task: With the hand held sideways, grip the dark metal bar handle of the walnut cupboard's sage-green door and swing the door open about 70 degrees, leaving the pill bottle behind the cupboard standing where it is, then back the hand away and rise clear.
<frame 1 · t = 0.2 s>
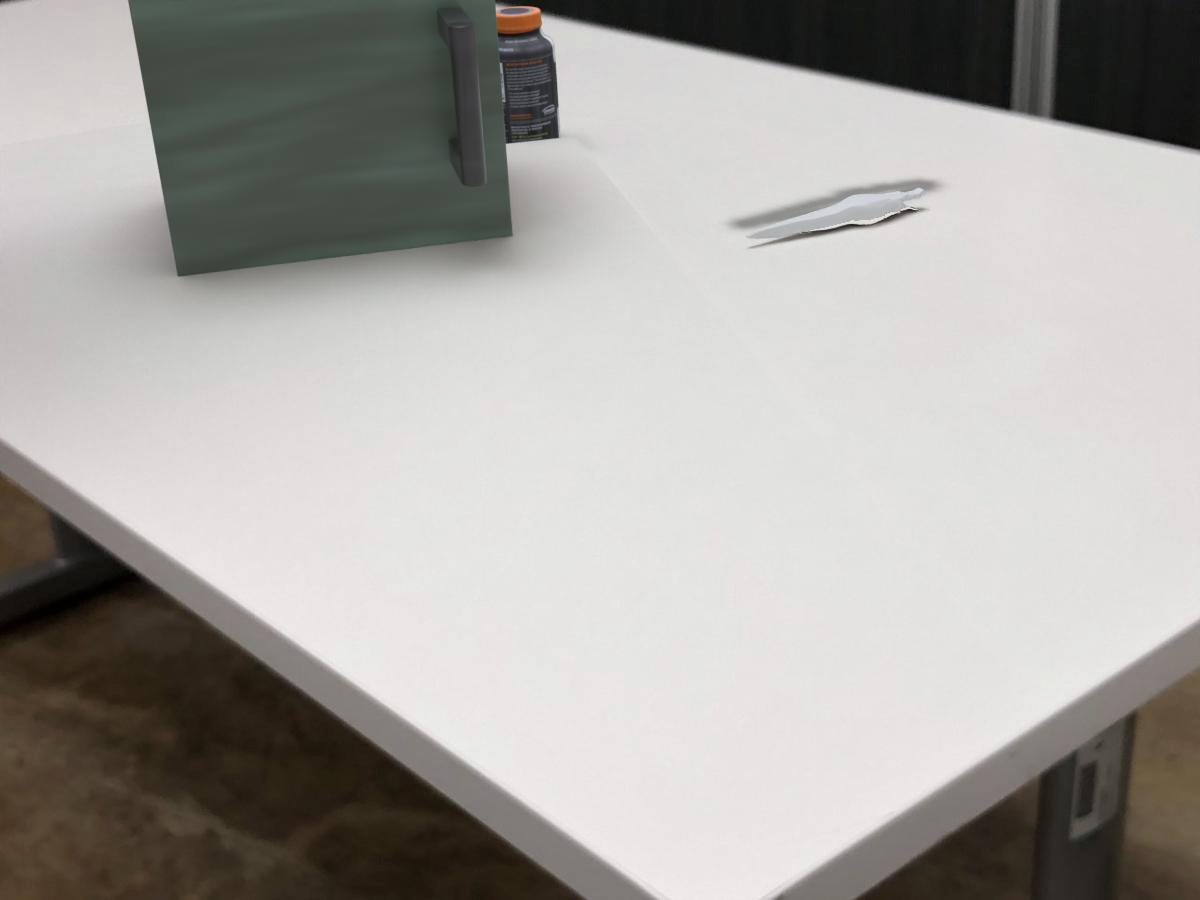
cupboard: (339, 234, 114), on the table
grey tapered strip: (836, 231, 111), on the table
cupboard door: (331, 108, 98), point 12 cm above the table, hinge at 0.0°
pill bottle: (526, 148, 132), on the table
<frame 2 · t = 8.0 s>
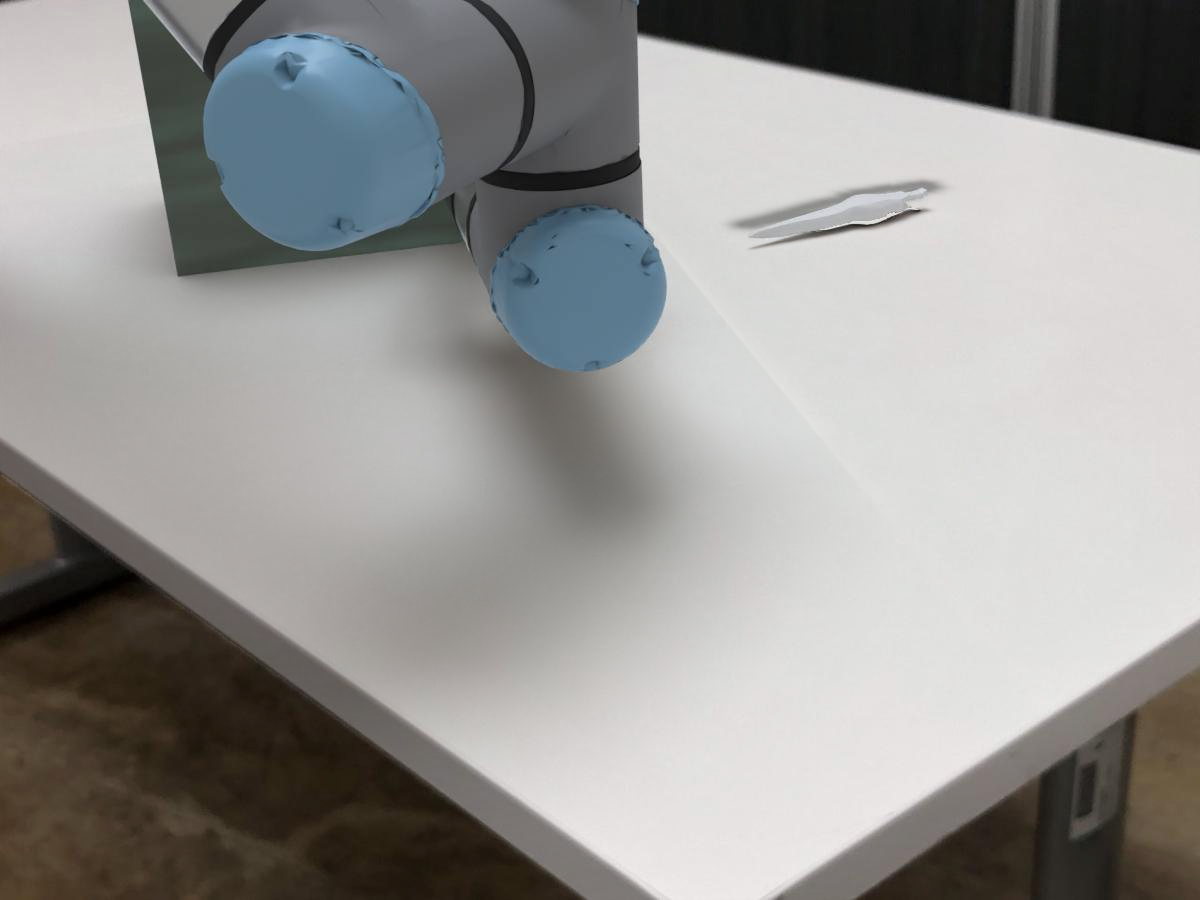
hand: (457, 91, 101), 12 cm above the table, tool horizontal, fingers closed on cupboard door, 2 cm apart
cupboard door: (331, 108, 98), point 12 cm above the table, hinge at 0.0°, touching gripper
everything else where it was.
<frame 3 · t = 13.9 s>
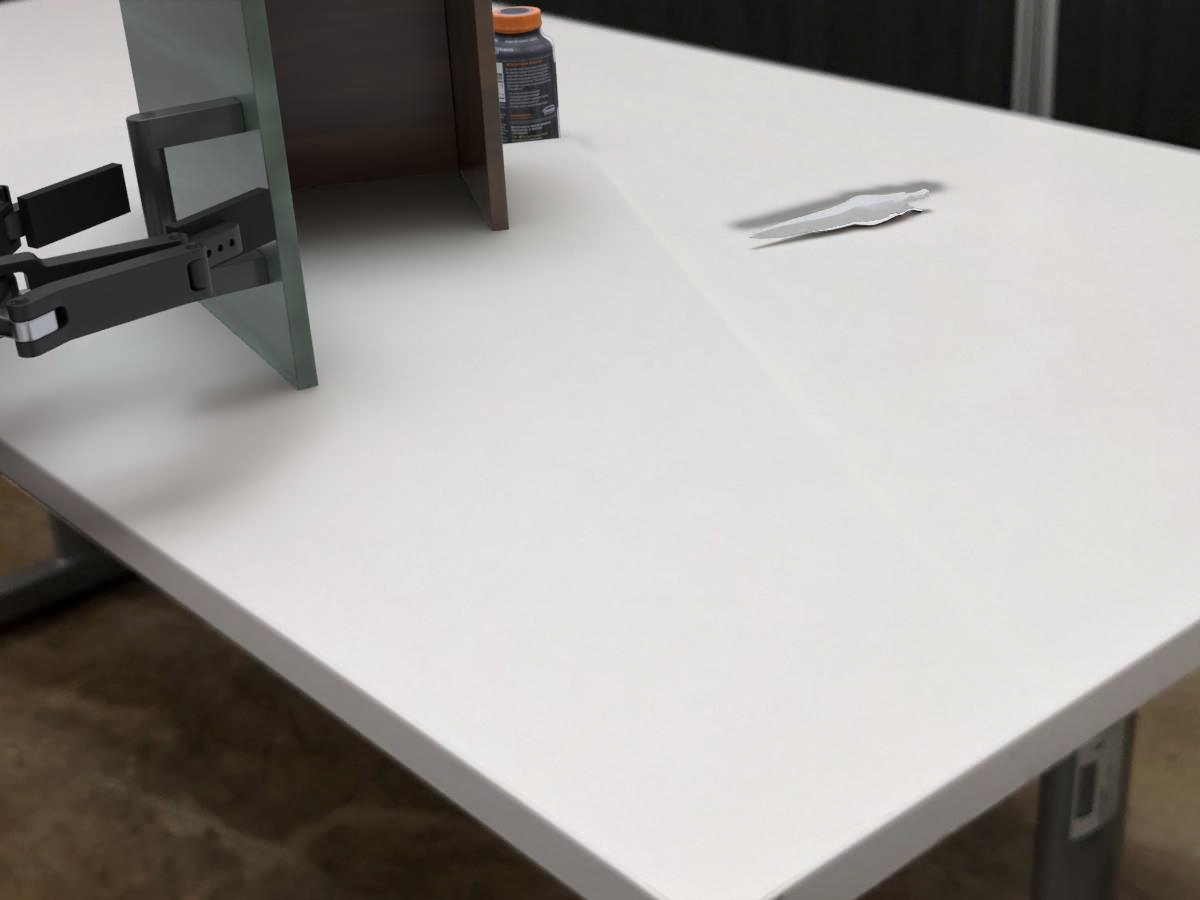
hand: (192, 199, 83), 12 cm above the table, tool horizontal, fingers open, 10 cm apart
cupboard door: (160, 165, 89), point 12 cm above the table, hinge at 71.2°
everything else where it was.
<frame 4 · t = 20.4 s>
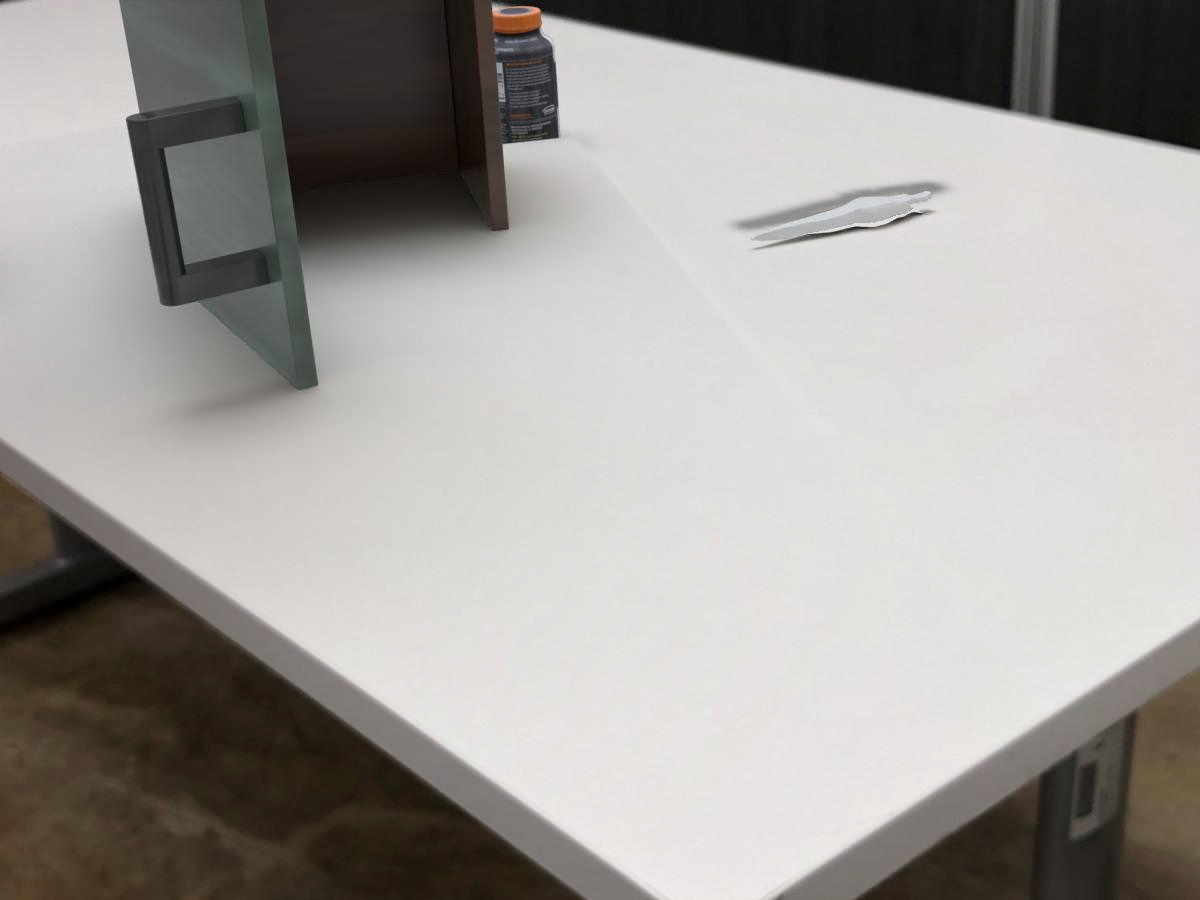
nothing on the table moved.
at the end: cupboard door at +71° (first picture: +0°); pill bottle moved 0.2 cm from its start; pill bottle tilted 0° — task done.
